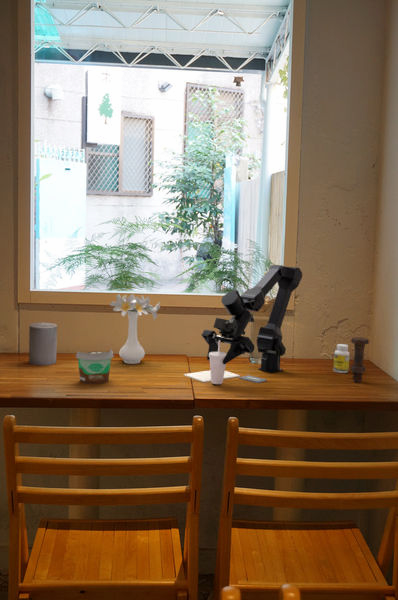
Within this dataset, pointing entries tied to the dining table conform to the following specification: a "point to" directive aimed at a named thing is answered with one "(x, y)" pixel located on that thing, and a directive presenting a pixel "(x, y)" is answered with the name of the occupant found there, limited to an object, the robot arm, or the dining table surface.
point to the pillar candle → (42, 343)
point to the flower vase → (133, 324)
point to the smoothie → (217, 366)
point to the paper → (209, 375)
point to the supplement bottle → (341, 359)
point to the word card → (253, 379)
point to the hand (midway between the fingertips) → (215, 361)
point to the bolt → (358, 358)
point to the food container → (94, 366)
